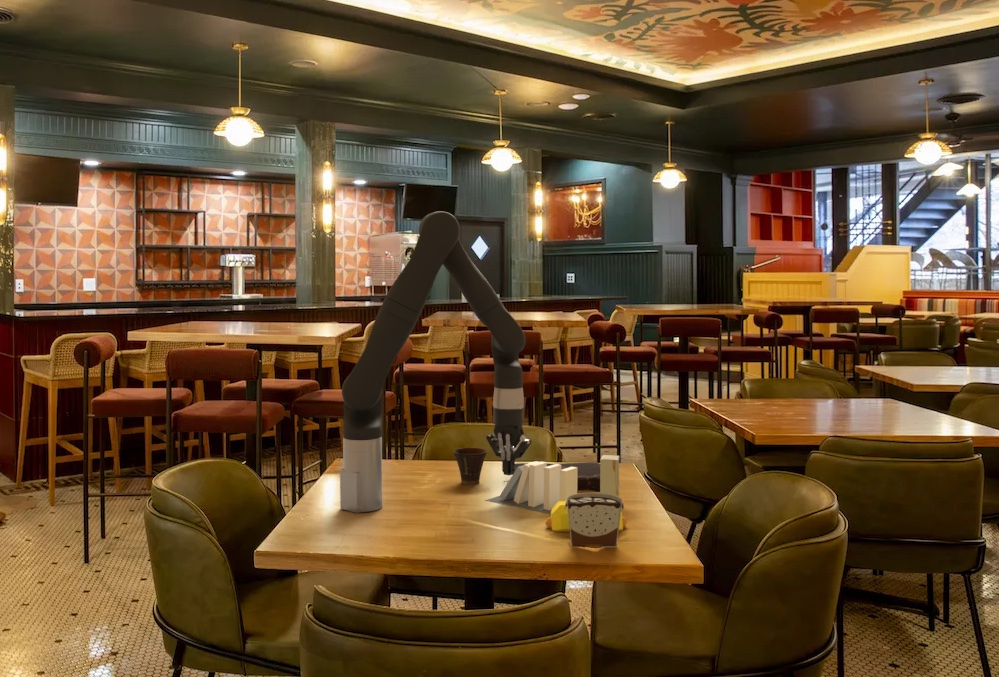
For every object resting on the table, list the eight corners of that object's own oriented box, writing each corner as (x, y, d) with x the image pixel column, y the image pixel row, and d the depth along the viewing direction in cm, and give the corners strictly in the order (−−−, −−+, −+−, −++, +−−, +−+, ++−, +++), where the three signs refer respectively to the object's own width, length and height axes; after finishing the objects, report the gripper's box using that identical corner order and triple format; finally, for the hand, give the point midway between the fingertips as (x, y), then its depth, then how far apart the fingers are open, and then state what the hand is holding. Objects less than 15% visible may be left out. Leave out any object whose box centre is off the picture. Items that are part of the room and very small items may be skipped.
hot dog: (630, 535, 182) (623, 525, 190) (630, 505, 182) (623, 496, 189) (547, 536, 181) (543, 526, 189) (547, 505, 181) (544, 496, 189)
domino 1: (503, 500, 208) (522, 471, 204) (499, 496, 209) (517, 466, 205) (515, 496, 212) (534, 467, 208) (511, 492, 213) (530, 463, 209)
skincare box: (617, 510, 201) (618, 460, 201) (599, 509, 202) (599, 459, 201) (619, 504, 208) (619, 454, 207) (601, 503, 208) (602, 454, 208)
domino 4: (549, 510, 199) (549, 468, 199) (543, 509, 200) (543, 467, 200) (561, 505, 203) (561, 464, 203) (555, 504, 204) (555, 463, 204)
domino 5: (565, 513, 197) (565, 471, 196) (559, 512, 198) (560, 470, 197) (577, 509, 201) (577, 467, 200) (571, 507, 202) (571, 466, 201)
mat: (569, 520, 193) (569, 517, 193) (485, 502, 208) (485, 500, 208) (592, 511, 201) (592, 508, 201) (509, 494, 216) (509, 492, 216)
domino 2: (518, 503, 205) (529, 467, 203) (513, 500, 206) (524, 464, 203) (530, 499, 209) (541, 463, 206) (525, 496, 210) (536, 460, 207)
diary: (615, 494, 220) (615, 475, 220) (521, 498, 216) (521, 479, 216) (594, 477, 239) (595, 459, 238) (508, 480, 234) (508, 462, 234)
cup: (496, 484, 225) (491, 447, 224) (464, 491, 222) (459, 454, 221) (484, 478, 233) (479, 443, 232) (454, 485, 230) (449, 449, 229)
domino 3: (533, 506, 202) (534, 465, 201) (528, 505, 203) (529, 464, 202) (545, 502, 206) (546, 462, 205) (540, 501, 207) (541, 461, 206)
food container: (618, 538, 180) (619, 492, 179) (624, 547, 173) (624, 499, 173) (561, 538, 179) (561, 492, 179) (564, 547, 173) (564, 499, 172)
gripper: (478, 404, 210) (478, 473, 211) (520, 409, 202) (520, 481, 203) (496, 401, 216) (497, 468, 217) (539, 406, 208) (538, 475, 209)
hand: (508, 474), depth 210 cm, fingers closed
